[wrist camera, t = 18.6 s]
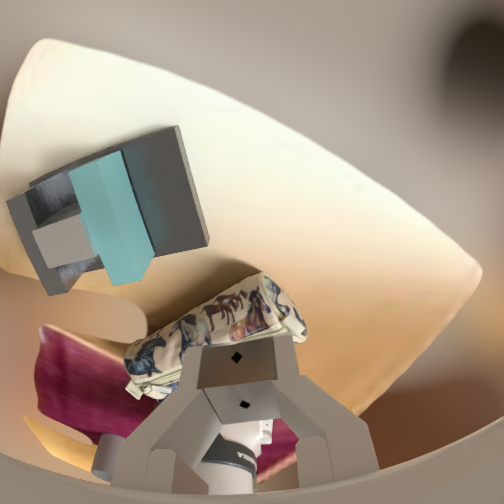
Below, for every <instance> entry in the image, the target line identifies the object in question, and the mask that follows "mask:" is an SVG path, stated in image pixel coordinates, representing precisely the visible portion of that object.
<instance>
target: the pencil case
mask: <svg viewBox="0 0 504 504" xmlns="http://www.w3.org/2000/svg"><path fill="white" fill-rule="evenodd" d="M289 331H291V332H292V336H293V341H294V343H302V342H304V341H305V340H306V338H307V337H308V327H307V325H306V323H305V321H304V318H303V316H302V314H301V313H300V311H299V309H298V308H297V306H296V305H295V303H294V302H293V301H292V300H291V299H290V297H289V295H288V294H287V293H286V291H285V290H284V289H283V288H282V287H281V286H280V285H279V284H278V283H277V282H276V281H275V280H274V278H272V277H271V276H270V275H269V274H268V273H266V272H260V273H258V274H256V275H254V276H249V277H247V278H245V279H243V280H242V281H240V282H238V283H236V284H235V285H233V286H232V287H230V288H228V289H226V290H224V291H223V292H221V293H220V294H218V295H217V296H216V297H214V298H212V299H211V300H209V301H207V302H205V303H203V304H201V305H199V306H197V307H196V308H194V309H192V310H191V311H189V312H188V313H186V314H185V315H184V316H182V317H181V318H179V319H178V320H177V321H175V322H172V323H170V324H168V325H166V326H165V327H163V328H161V329H160V330H158V331H156V332H155V333H154V334H152V335H150V336H148V337H146V338H145V339H139V340H136V341H135V342H133V343H132V344H131V345H130V346H129V347H128V349H127V351H126V353H125V355H124V366H125V369H126V371H127V373H128V375H129V376H130V377H131V380H130V381H129V382H128V384H127V386H126V387H125V389H126V390H127V391H128V392H129V393H130V394H132V395H133V396H134V397H135V398H136V399H138V400H140V397H141V396H142V394H143V393H144V394H145V395H147V396H149V397H151V398H154V399H157V402H158V403H162V402H163V401H164V400H165V399H166V398H167V397H168V395H169V394H170V393H171V392H172V391H176V390H178V385H179V379H180V374H181V369H182V364H183V359H184V354H185V351H186V349H187V348H188V347H194V346H204V345H210V344H219V343H227V342H235V341H241V340H247V339H253V338H259V337H264V336H270V335H274V334H279V333H284V332H289Z"/></svg>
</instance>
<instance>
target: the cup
mask: <svg viewBox="0 0 504 504" xmlns="http://www.w3.org/2000/svg"><path fill="white" fill-rule="evenodd" d="M124 440H125V438H123V437H120V436H117V435H114V434H108V433H107V434H102V435H101V437H100V441H99V444H98V447H97V451H96V454H95V458H94V461H93V465H92V469H91V472H92V473H93V474H94V475H95V476H97V477H98V478H100V479H103V480H105V481H108V482H111V480H112V475H113V471H114V467H115V463H116V459H117V455H118V451H119V447H120V444H121V443H122V442H123V441H124Z"/></svg>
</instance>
